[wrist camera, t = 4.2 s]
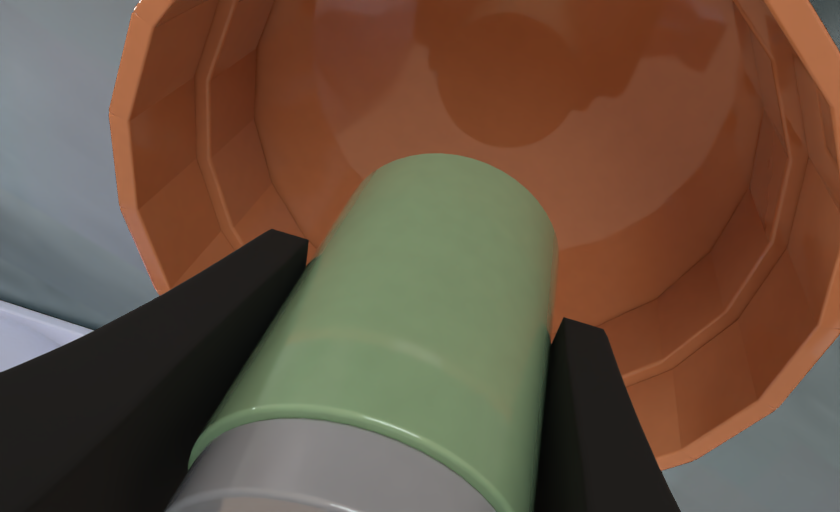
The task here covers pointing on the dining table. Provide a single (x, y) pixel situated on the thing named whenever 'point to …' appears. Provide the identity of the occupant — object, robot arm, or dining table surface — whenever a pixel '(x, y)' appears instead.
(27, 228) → the dining table surface
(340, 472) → the cylinder
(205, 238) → the basin
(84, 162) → the dining table surface
